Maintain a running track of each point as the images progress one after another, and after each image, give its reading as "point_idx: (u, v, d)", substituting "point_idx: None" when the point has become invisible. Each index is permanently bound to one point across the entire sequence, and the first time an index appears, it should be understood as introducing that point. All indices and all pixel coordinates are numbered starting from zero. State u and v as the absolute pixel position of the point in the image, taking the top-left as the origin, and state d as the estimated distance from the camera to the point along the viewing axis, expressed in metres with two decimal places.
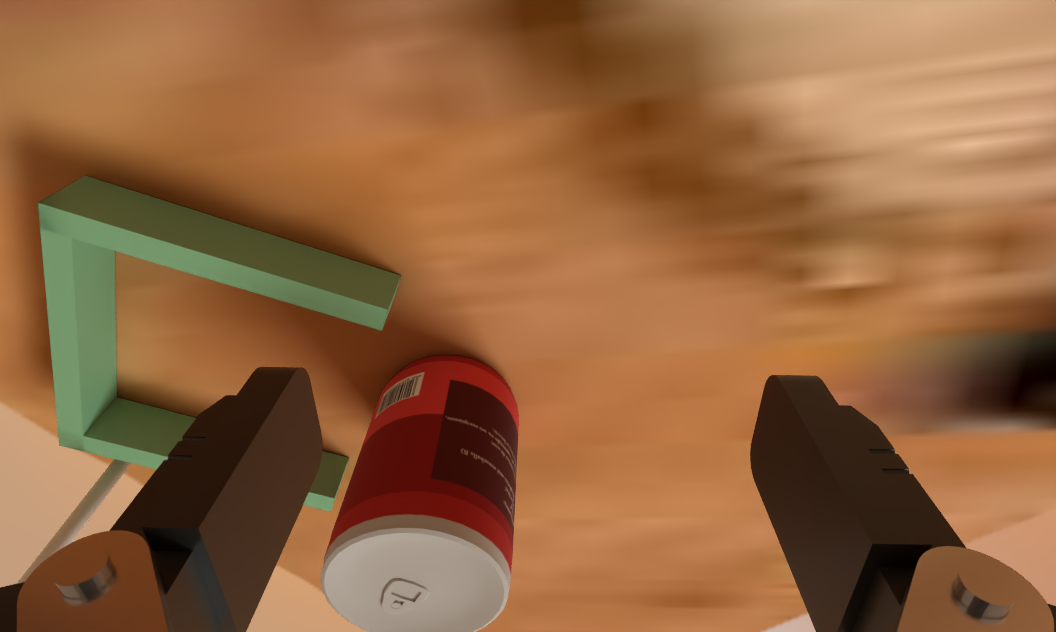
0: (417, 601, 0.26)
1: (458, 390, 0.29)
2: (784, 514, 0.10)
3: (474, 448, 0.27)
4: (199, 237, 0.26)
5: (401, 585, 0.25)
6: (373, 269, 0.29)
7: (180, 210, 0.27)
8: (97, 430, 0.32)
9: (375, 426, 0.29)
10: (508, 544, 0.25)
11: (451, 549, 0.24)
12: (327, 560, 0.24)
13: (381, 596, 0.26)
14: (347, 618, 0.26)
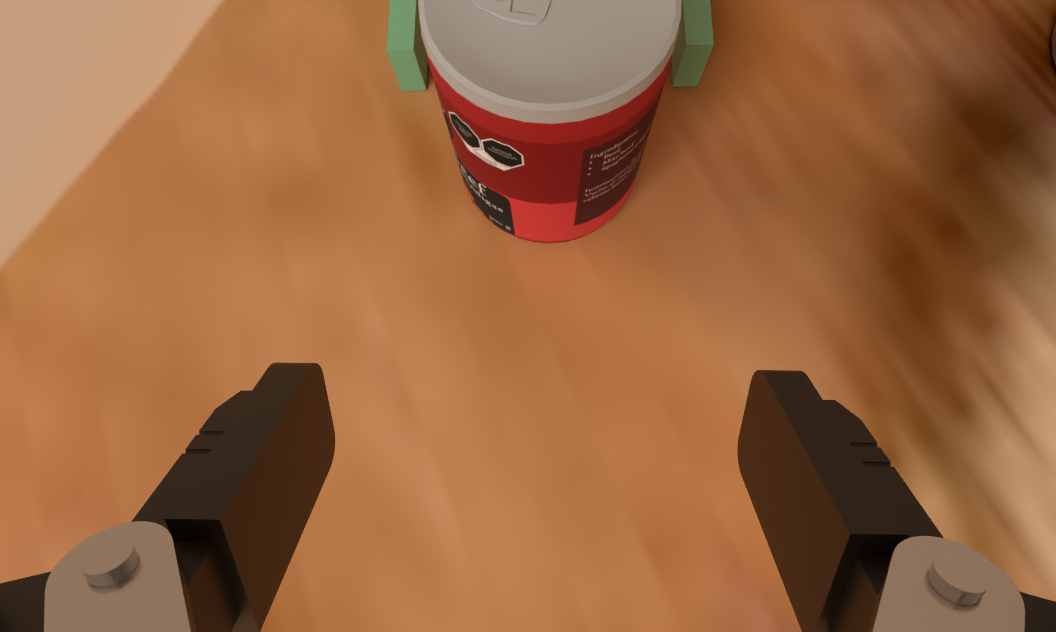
0: (513, 14, 0.18)
1: None
2: (769, 507, 0.10)
3: None
4: None
5: None
6: None
7: None
8: None
9: None
10: (625, 117, 0.19)
11: (642, 22, 0.18)
12: None
13: None
14: None
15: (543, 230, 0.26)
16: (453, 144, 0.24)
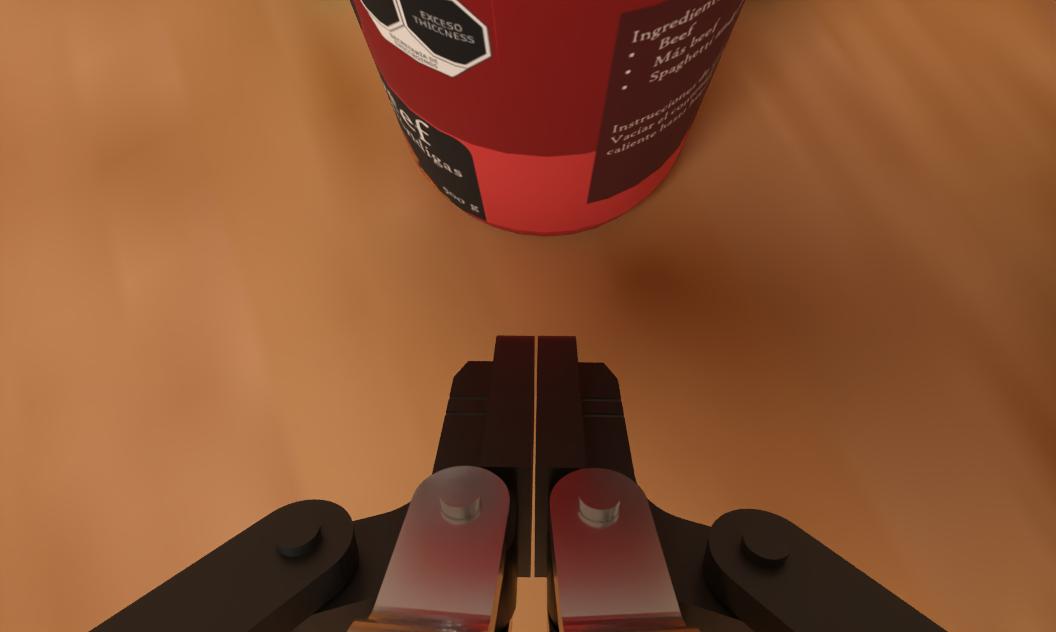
0: None
1: None
2: None
3: None
4: None
5: None
6: None
7: None
8: None
9: None
10: None
11: None
12: None
13: None
14: None
15: (534, 211, 0.15)
16: (368, 45, 0.13)
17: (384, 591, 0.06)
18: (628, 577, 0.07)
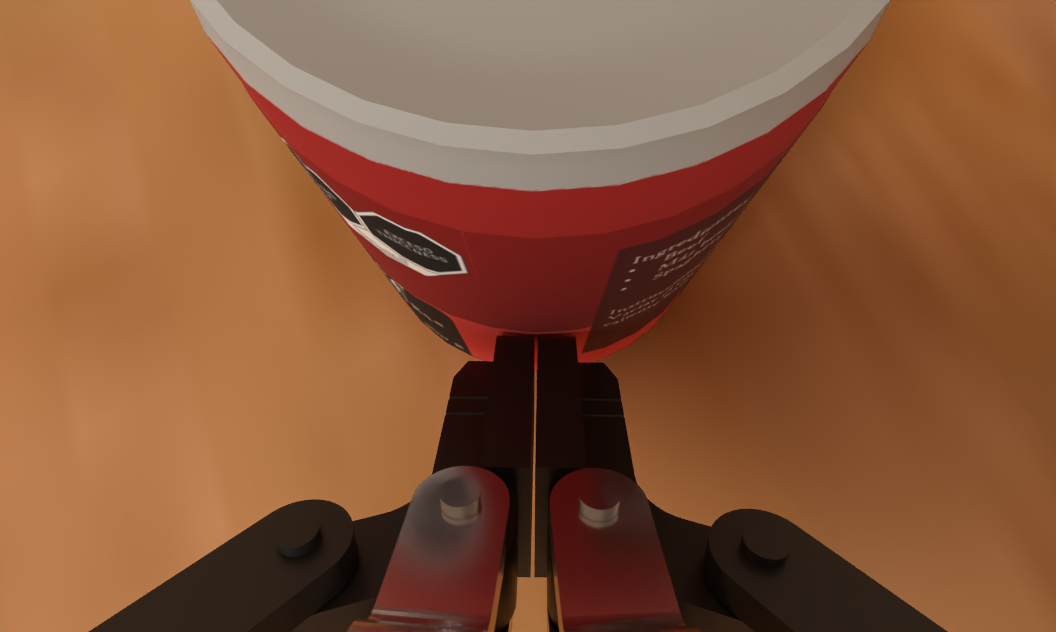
0: None
1: None
2: None
3: None
4: None
5: None
6: None
7: None
8: None
9: None
10: (745, 170, 0.07)
11: None
12: None
13: None
14: None
15: None
16: None
17: (383, 591, 0.06)
18: (628, 576, 0.07)
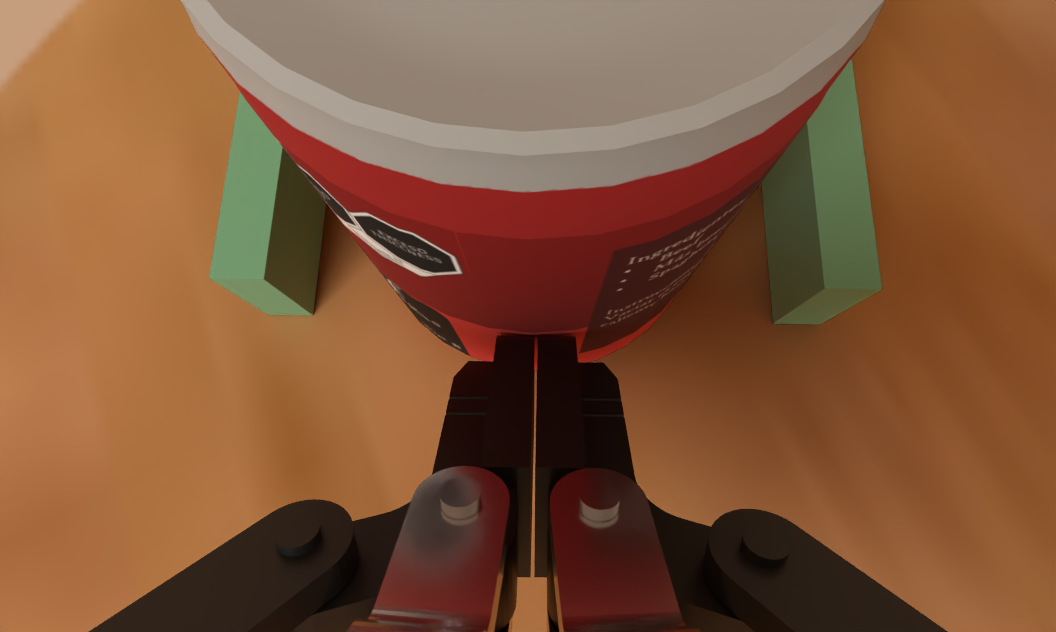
0: None
1: None
2: None
3: None
4: None
5: None
6: None
7: None
8: None
9: None
10: (740, 171, 0.07)
11: None
12: None
13: None
14: None
15: None
16: None
17: (384, 591, 0.06)
18: (628, 576, 0.07)
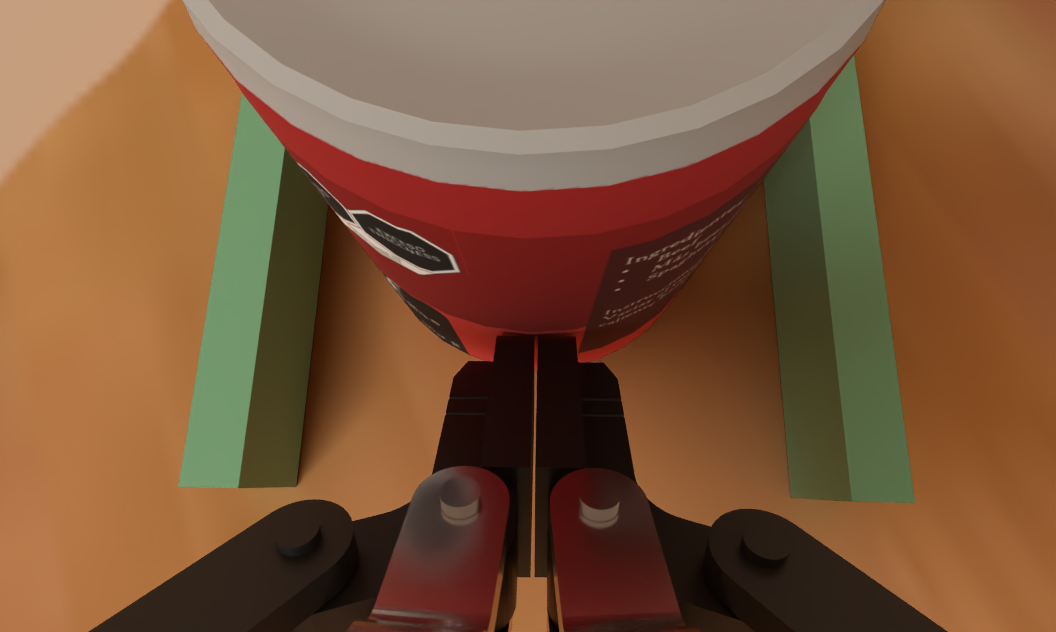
0: None
1: None
2: None
3: None
4: None
5: None
6: None
7: None
8: None
9: None
10: (738, 172, 0.07)
11: None
12: None
13: None
14: None
15: None
16: None
17: (384, 591, 0.06)
18: (628, 576, 0.07)
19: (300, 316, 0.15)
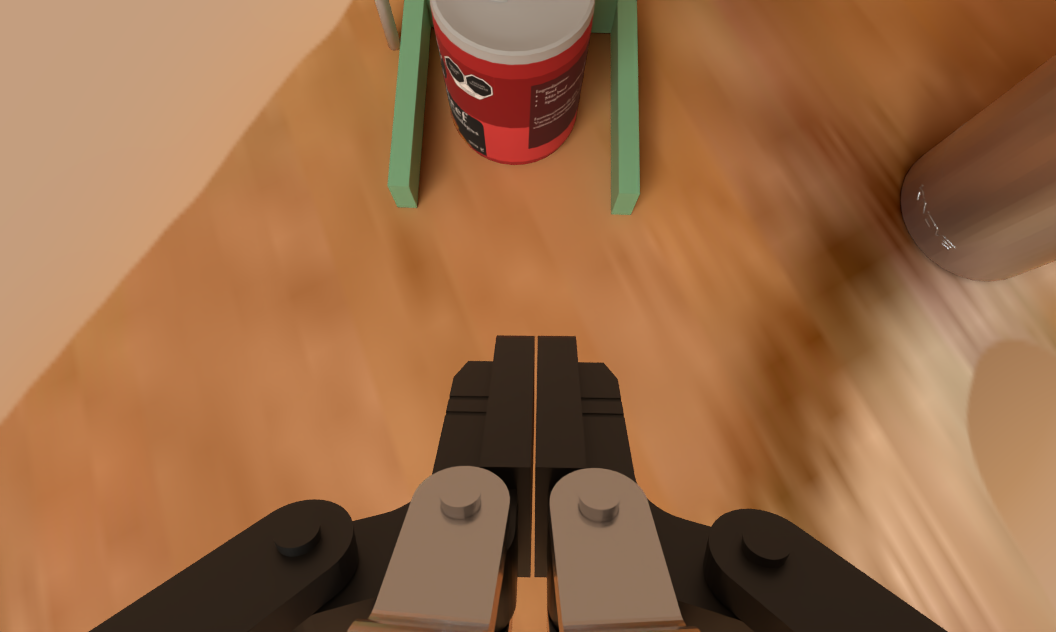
0: None
1: None
2: None
3: (584, 67, 0.33)
4: None
5: None
6: None
7: None
8: (425, 4, 0.39)
9: None
10: (557, 65, 0.30)
11: (569, 5, 0.29)
12: None
13: None
14: None
15: (507, 151, 0.37)
16: (446, 83, 0.34)
17: (383, 591, 0.06)
18: (628, 576, 0.07)
19: (419, 139, 0.38)
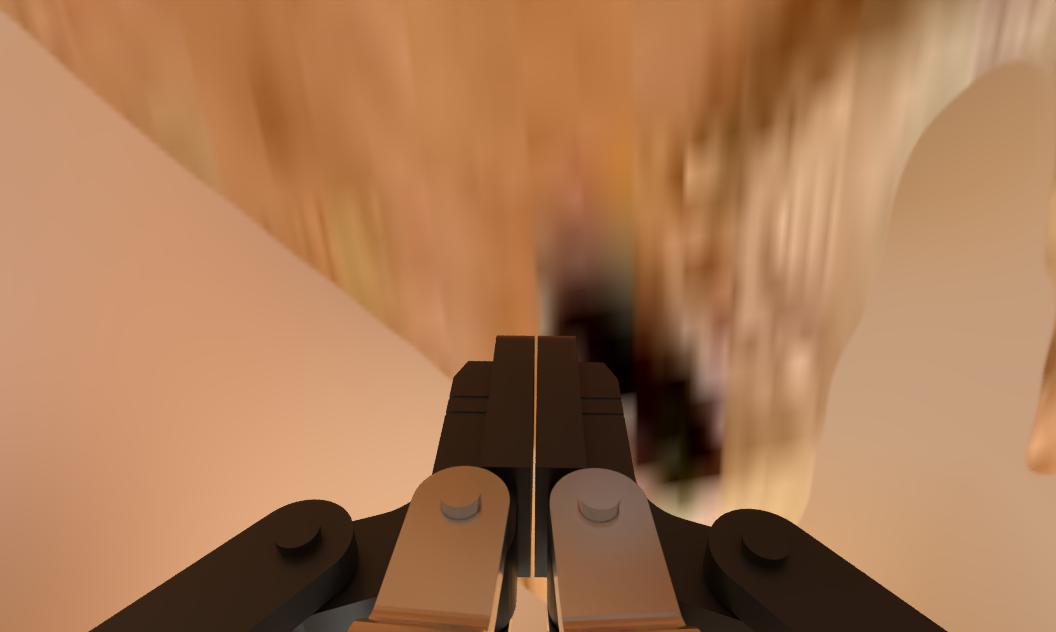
0: None
1: None
2: None
3: None
4: None
5: None
6: None
7: None
8: None
9: None
10: None
11: None
12: None
13: None
14: None
15: None
16: None
17: (383, 591, 0.06)
18: (628, 576, 0.07)
19: None
